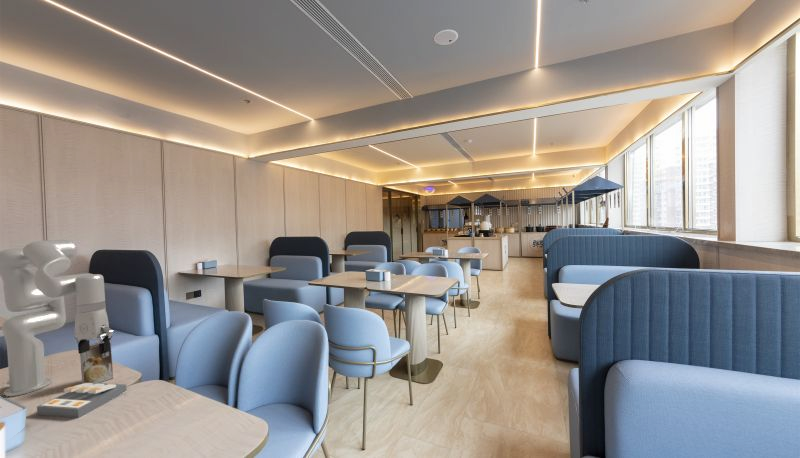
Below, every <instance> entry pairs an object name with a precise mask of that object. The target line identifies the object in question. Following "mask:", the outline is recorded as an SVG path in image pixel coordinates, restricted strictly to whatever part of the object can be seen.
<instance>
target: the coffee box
mask: <svg viewBox="0 0 800 458" xmlns="http://www.w3.org/2000/svg"><path fill="white" fill-rule="evenodd" d="M99 344H100V342H99V341H98V342H96V343H91V344H90V350H89V351H87V352H84V353H81V354H79V357H80V370H81V384H84V383H104V382H105V381H108V380H112V379H113V378H114V371H113V368H114V367H113V355H112V345H111V342H110V351H109V352H106V353H104V354H99Z"/></svg>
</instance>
